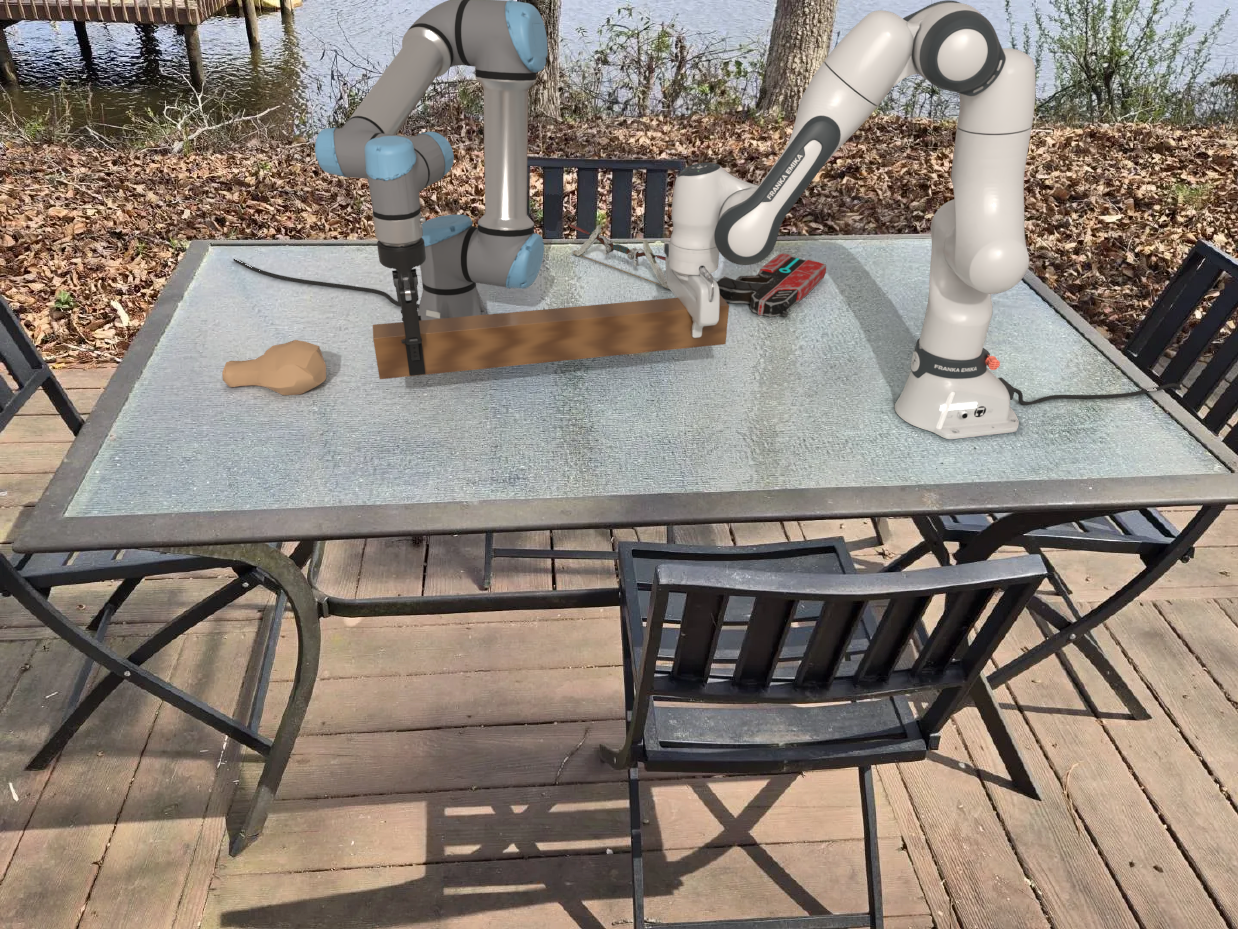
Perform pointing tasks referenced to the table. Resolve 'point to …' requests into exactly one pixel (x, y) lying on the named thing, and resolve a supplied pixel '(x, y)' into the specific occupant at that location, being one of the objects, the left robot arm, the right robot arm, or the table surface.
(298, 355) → the squash
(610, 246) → the bow
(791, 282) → the gun
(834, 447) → the table surface
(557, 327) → the post
